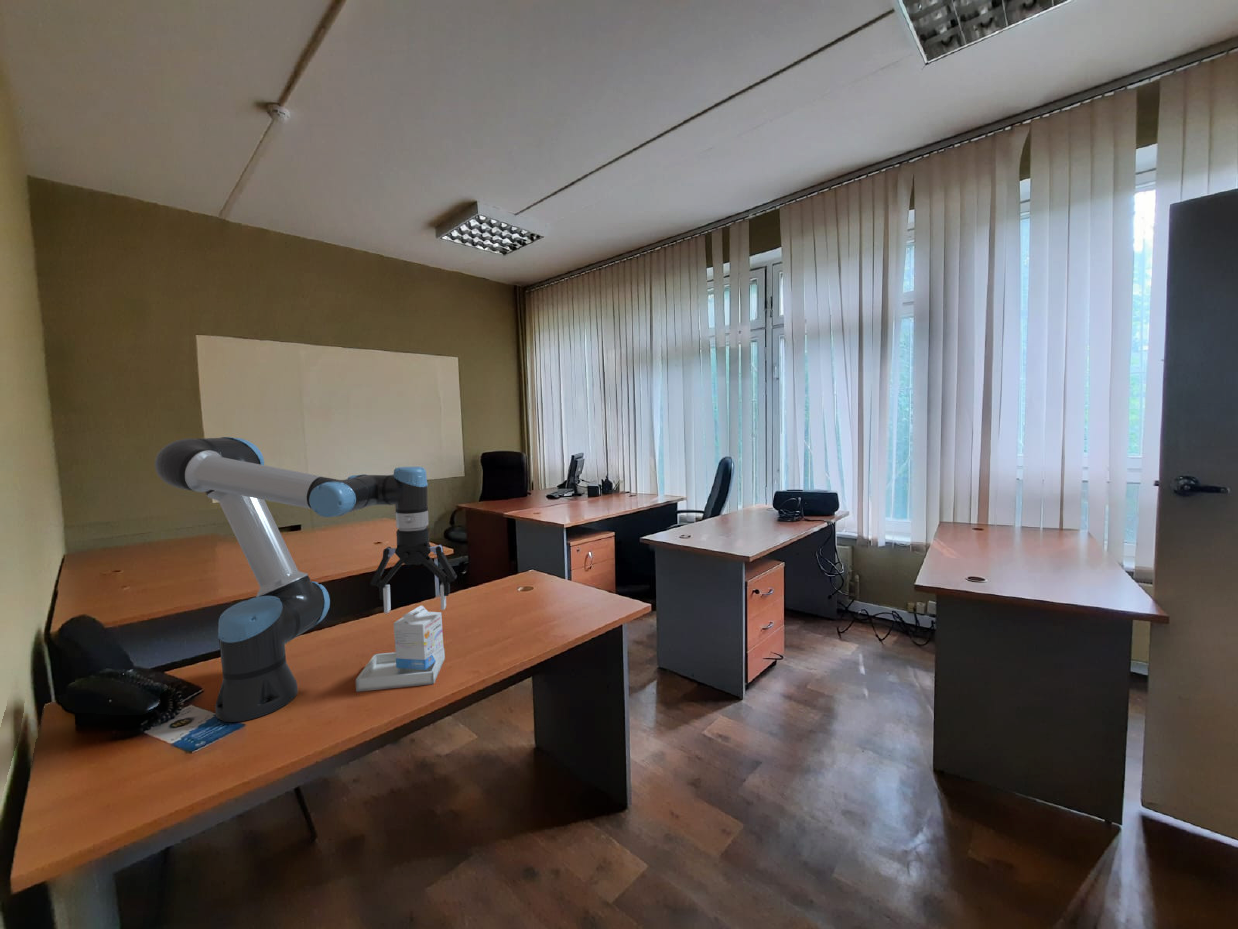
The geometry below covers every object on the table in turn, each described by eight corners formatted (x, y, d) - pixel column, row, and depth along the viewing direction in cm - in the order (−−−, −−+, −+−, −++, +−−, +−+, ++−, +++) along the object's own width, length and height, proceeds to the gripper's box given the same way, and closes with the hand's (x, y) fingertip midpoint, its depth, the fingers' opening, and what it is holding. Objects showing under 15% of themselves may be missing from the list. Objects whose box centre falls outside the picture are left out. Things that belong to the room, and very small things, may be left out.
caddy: (356, 691, 114) (355, 680, 114) (375, 665, 127) (374, 654, 127) (433, 684, 117) (433, 672, 116) (444, 658, 130) (444, 647, 129)
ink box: (425, 670, 117) (422, 618, 116) (395, 668, 119) (392, 616, 118) (444, 654, 125) (442, 605, 124) (416, 652, 127) (413, 603, 126)
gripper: (353, 533, 114) (357, 618, 115) (461, 529, 118) (463, 612, 119) (365, 526, 121) (369, 607, 123) (466, 523, 125) (468, 601, 127)
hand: (415, 609), depth 121 cm, fingers open, 13 cm apart
